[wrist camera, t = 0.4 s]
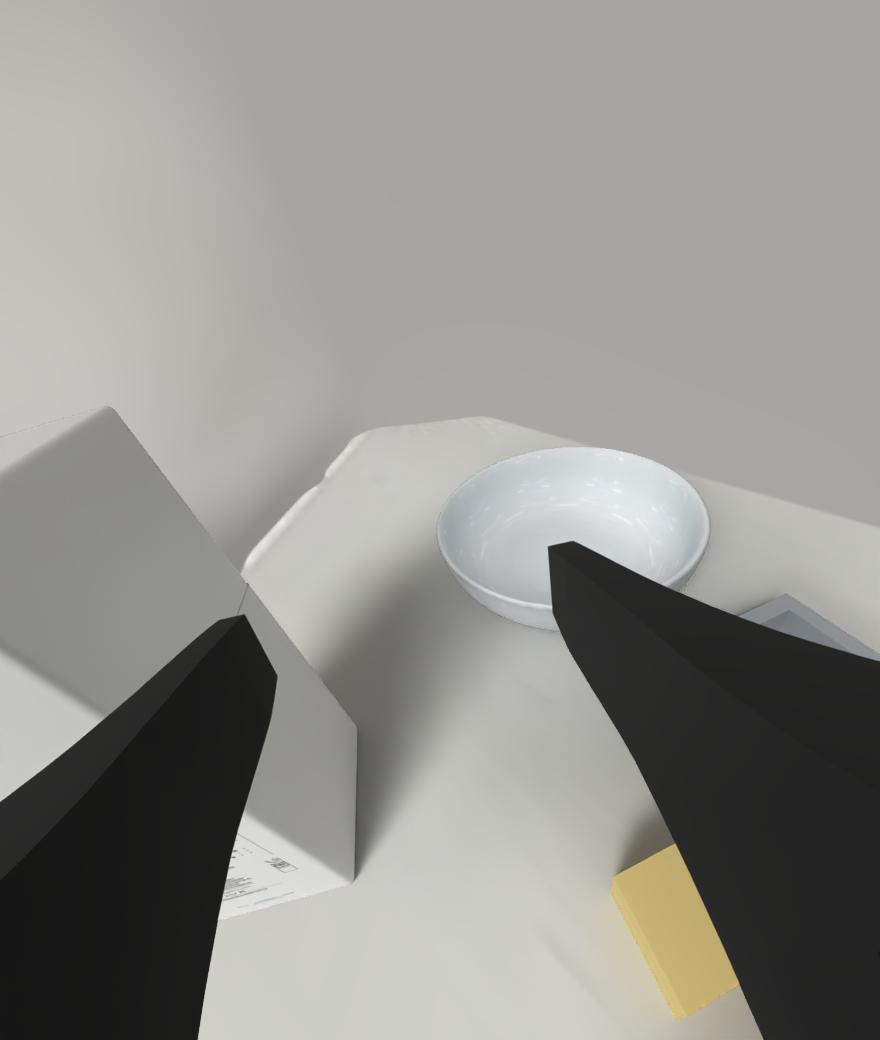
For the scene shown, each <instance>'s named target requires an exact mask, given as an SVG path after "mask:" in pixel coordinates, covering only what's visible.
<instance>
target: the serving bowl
mask: <svg viewBox="0 0 880 1040" xmlns="http://www.w3.org/2000/svg"><path fill="white" fill-rule="evenodd" d="M709 537H710V518H709V513H708V510H707V508H706V506H705V503H704V501H703V500H702V498H701V496H700V495H699V494H698V492H697V491H696V490H695V489H694V487H693V486H692V485H691V484H690V483H689V482H688V481H687V480H685V479H684V478H683V477H682V476H680V475H679V474H678V473H676V472H675V471H673V470H671V469H669V468H668V467H666V466H664V465H662V464H660V463H658V462H655V461H653V460H651V459H648V458H645V457H642V456H639V455H635V454H632V453H628V452H624V451H619V450H613V449H606V448H596V447H563V448H552V449H545V450H538V451H533V452H529V453H525V454H521V455H517V456H514V457H511V458H508V459H505V460H502V461H500V462H498V463H495V464H493V465H491V466H489V467H487V468H485V469H483V470H481V471H480V472H478V473H476V474H475V475H473V476H472V477H470V478H469V479H468V480H466V481H465V482H464V483H463V484H461V485H460V486H459V487H458V488H457V489H456V490H455V491H454V492H453V493H452V495H451V496H450V497H449V498H448V500H447V501H446V503H445V505H444V506H443V508H442V510H441V512H440V515H439V518H438V523H437V541H438V545H439V549H440V551H441V554H442V556H443V558H444V560H445V562H446V564H447V566H448V567H449V569H450V571H451V572H452V574H453V575H454V577H455V578H456V580H457V581H458V582H459V584H460V585H461V586H462V587H463V588H464V589H465V590H466V591H467V592H468V593H469V594H470V595H471V596H472V597H473V598H474V599H475V600H477V601H478V602H479V603H480V604H482V605H483V606H485V607H486V608H488V609H489V610H491V611H493V612H494V613H496V614H498V615H500V616H502V617H504V618H507V619H509V620H511V621H514V622H517V623H520V624H523V625H527V626H530V627H535V628H540V629H546V630H554V631H560V629H559V627H558V625H557V623H556V620H555V618H554V616H553V613H552V599H551V585H550V572H549V558H548V546H551V545H556V544H560V543H565V542H569V541H575V542H577V543H579V544H581V545H583V546H585V547H587V548H589V549H591V550H593V551H595V552H597V553H599V554H601V555H603V556H605V557H607V558H609V559H611V560H613V561H615V562H616V563H618V564H620V565H622V566H624V567H626V568H628V569H630V570H632V571H634V572H636V573H638V574H640V575H642V576H644V577H646V578H649V579H651V580H653V581H655V582H657V583H659V584H661V585H663V586H666V587H668V588H670V589H672V590H674V591H677V592H678V591H679V590H680V589H681V588H682V587H683V586H684V584H685V583H686V582H687V581H688V579H689V578H690V577H691V575H692V574H693V572H694V571H695V569H696V568H697V566H698V564H699V562H700V560H701V558H702V556H703V555H704V552H705V550H706V548H707V545H708V541H709Z"/></svg>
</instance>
